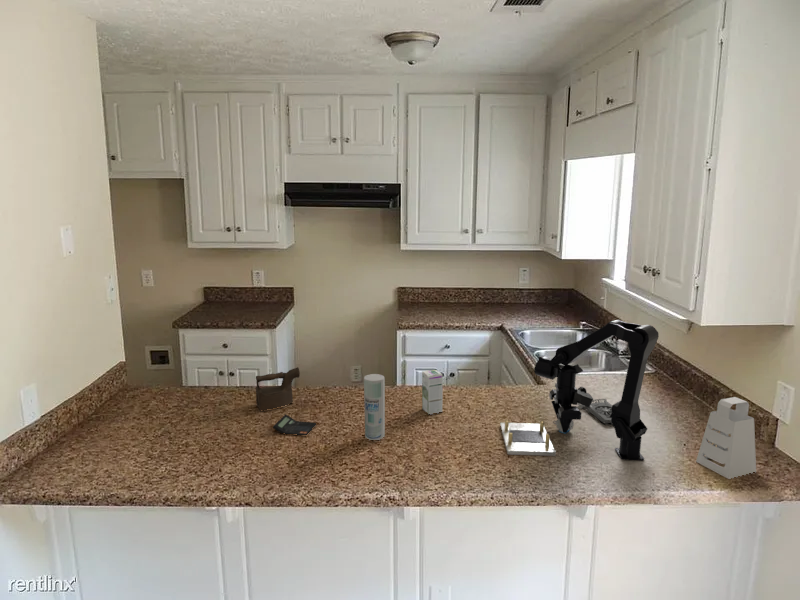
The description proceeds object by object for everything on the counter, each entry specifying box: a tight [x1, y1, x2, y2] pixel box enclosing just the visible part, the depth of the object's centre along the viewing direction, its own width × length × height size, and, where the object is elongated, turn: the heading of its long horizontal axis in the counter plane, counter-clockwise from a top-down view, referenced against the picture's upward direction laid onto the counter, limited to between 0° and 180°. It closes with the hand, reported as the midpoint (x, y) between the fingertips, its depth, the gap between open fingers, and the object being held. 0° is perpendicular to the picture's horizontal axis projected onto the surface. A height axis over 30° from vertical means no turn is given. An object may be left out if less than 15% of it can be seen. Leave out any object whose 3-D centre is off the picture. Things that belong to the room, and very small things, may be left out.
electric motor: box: [552, 419, 575, 434], centre depth 174 cm, size 7×5×5 cm
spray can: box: [363, 373, 386, 441], centre depth 169 cm, size 6×6×20 cm
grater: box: [695, 396, 757, 480], centre depth 150 cm, size 10×10×20 cm
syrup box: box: [421, 369, 443, 415], centre depth 190 cm, size 6×6×14 cm
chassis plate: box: [499, 419, 556, 457], centre depth 169 cm, size 20×14×4 cm
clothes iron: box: [255, 366, 301, 411], centre depth 196 cm, size 8×16×13 cm, turn 113°
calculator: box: [272, 413, 317, 435], centre depth 177 cm, size 9×12×3 cm
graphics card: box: [575, 398, 613, 424], centre depth 187 cm, size 17×4×12 cm
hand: (562, 428), depth 175 cm, fingers closed on electric motor, 5 cm apart
